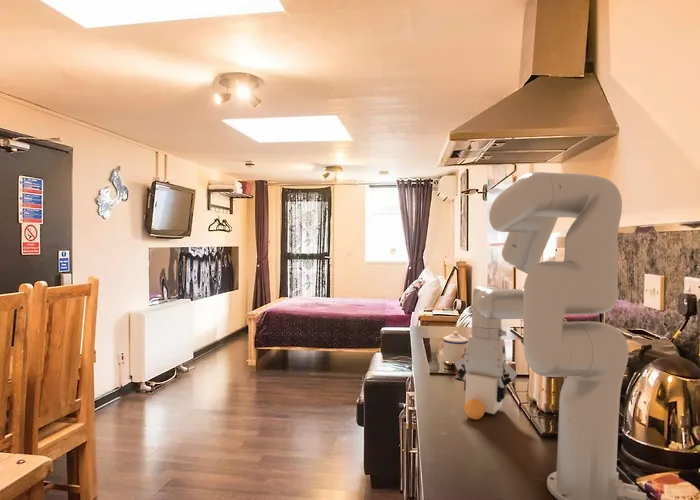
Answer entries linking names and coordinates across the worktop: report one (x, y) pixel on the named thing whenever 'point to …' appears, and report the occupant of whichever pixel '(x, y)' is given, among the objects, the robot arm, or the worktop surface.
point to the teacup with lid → (454, 347)
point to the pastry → (459, 375)
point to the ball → (474, 409)
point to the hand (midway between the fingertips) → (483, 397)
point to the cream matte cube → (483, 391)
